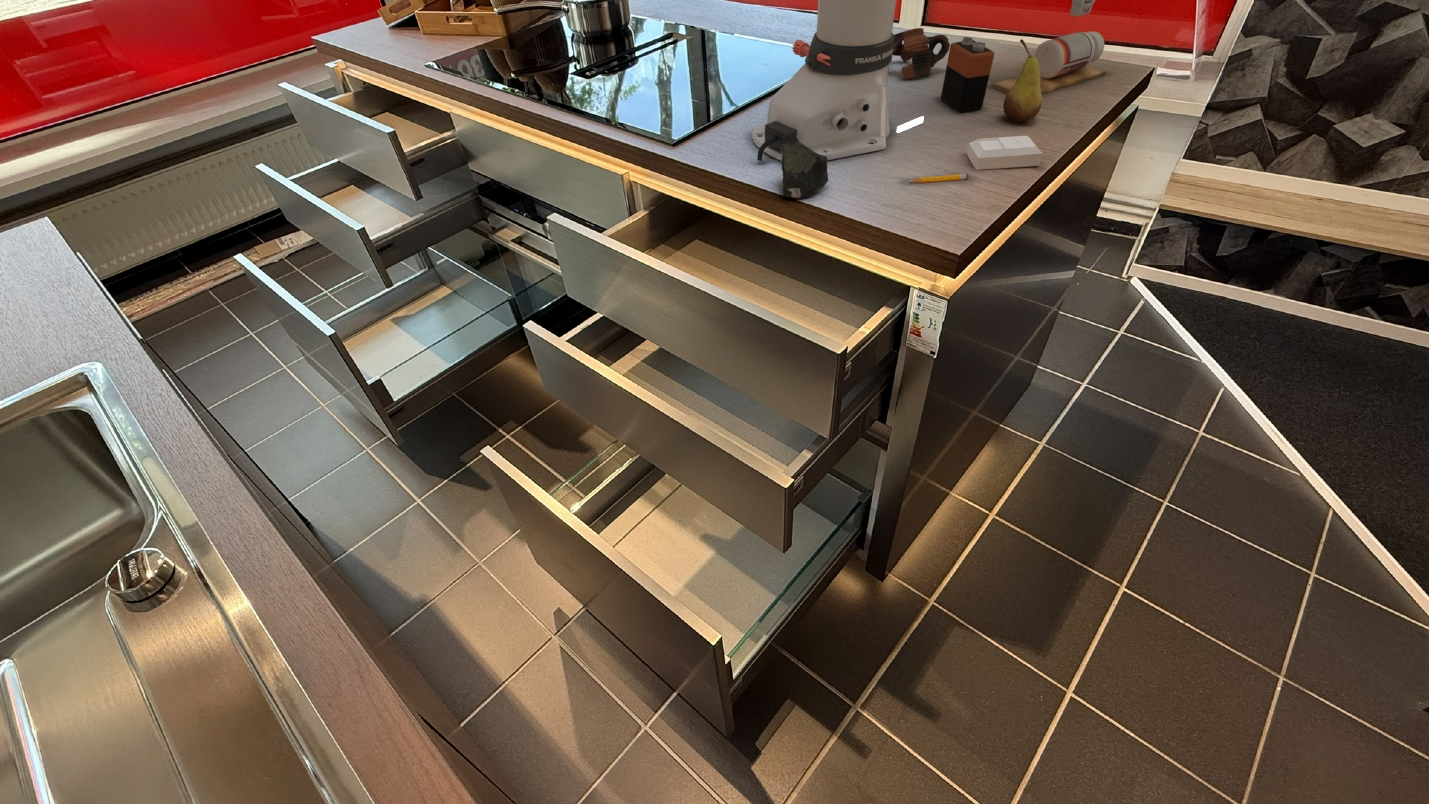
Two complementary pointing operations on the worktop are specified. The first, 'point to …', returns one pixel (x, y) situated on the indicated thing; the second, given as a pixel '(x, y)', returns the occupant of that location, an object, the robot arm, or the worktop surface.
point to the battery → (967, 75)
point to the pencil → (940, 178)
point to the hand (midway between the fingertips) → (1079, 14)
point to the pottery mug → (918, 51)
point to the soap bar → (1003, 152)
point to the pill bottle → (1068, 53)
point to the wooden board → (1057, 79)
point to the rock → (801, 168)
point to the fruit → (1025, 92)
